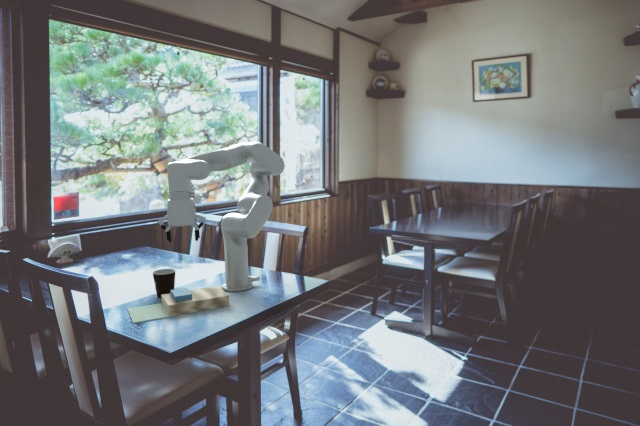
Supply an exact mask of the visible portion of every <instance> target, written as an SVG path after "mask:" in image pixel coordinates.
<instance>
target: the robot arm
mask: <svg viewBox="0 0 640 426" xmlns="http://www.w3.org/2000/svg"><path fill="white" fill-rule="evenodd" d="M245 164H249V170H250V175H251V179H250V183H249V185H248V187H246V190H244V192H243V194H242V195H241V197H240V198H239V199H238V201H237V204H236V205H237V206H236V208H237V211H238V212H229V213H227V214H225V215H224V216H223V217H222V219H221V221H220V230H221V234H222V238H223V248H224V249H223V250H224V271H225V273H224V274H225V283H223V284H222V286H221V289H222V290H223V291H225V292H235V293H236V292H243V291H244V292H245V291H249V290H250V289H252V288H253V282H258V281H259V282H260V281H261V280H260V279H261V277H260V276H259V275H258V276H255V275H251V276H250V275H249V255H248V253H249V252H248V251H249V250H248V247H249V246H248V243H247V242H248V241H247V239H253V238H255V237H256V236H257V235H258V234H259V233H260V232H261V230H262V229H263V227H265V224H266V222H267V221H268V219H269V218H270V216H271V214H272V212H273V208H274V207H273V206H274V205H273V200H272V198H271V197H270V196H269V195H268V193H269V190H270V184H269V179H268V176H272V177H273V176H279V175H281V174H282V173H283V172H284V170H285V167H286V165H285V161H284V159H283V158H282V157H281V155H279V154H278V153H276V152H275V151H273V149H271V148H270V147H268V145H265V144H264V143H262V142H259V141H252V142H251V141H246V142H245V141H244V142H239V143H237V144H234V145H231V146H227V147H224V148H222V149H218V150H214V151H210V152H206V153H202V154H197V155H194V156H190V157H186V158H184V159H182V160H180V161H171V162H168V164H167V166H166V169H167V170H166V171H167V181H168V182H167V183H168V192H169V199H167V205H166V207H167V209H166V215H165V216H162V217H161V218H159V219H158V220H157V223H158V225H159V226H160V228H161V229H163V230H164V231H165V233H166V240H167V241H168V243H172V242H173V236H172V234H173V233H172V228H174V227H188V226H189V227H190V226H191V227H193V229H195V230H194V238H195V240H194V241H196V242H197V241H199V239H200V236H201V235H200V229H201V228H202V227H203V226H204V224H205V222H206V216H203V215H201V214H199V213H197V209H196V205H195V200H194V197H193V196H195V191H192V190H191V185H190V184H191V183H190V181H202V180H206V179H208V177H209V176H210V175H211V172H212V173H213V172H224V171H229V170H231V169H234V168H237V167H239V166H242V165H245ZM198 219H199V220H201V221H200V222H199V224H198V223H197V221H198ZM164 221H167V225H166V224H164Z"/></svg>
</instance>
